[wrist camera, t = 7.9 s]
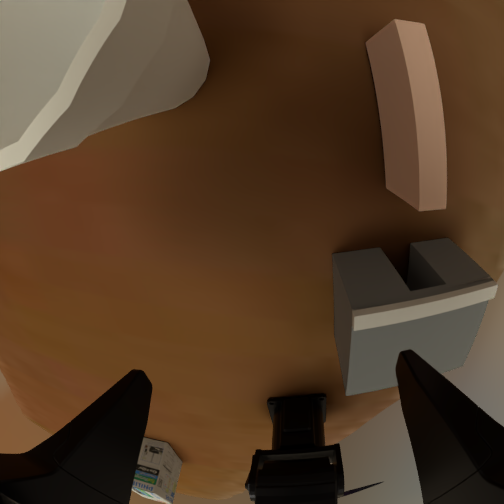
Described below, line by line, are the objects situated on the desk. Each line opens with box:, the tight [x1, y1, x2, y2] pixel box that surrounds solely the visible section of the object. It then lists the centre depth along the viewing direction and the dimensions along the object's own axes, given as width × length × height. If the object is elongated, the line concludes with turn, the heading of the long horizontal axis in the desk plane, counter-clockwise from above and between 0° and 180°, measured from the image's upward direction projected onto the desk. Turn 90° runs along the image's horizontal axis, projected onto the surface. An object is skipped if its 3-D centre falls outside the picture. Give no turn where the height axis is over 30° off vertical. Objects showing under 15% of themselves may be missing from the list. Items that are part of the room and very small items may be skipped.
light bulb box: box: [132, 437, 182, 504], centre depth 35 cm, size 11×7×11 cm, turn 3°
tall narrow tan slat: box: [365, 19, 447, 211], centre depth 12 cm, size 10×2×5 cm, turn 10°
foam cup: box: [0, 0, 210, 171], centre depth 9 cm, size 10×9×13 cm
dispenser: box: [332, 238, 498, 396], centre depth 17 cm, size 8×10×7 cm
